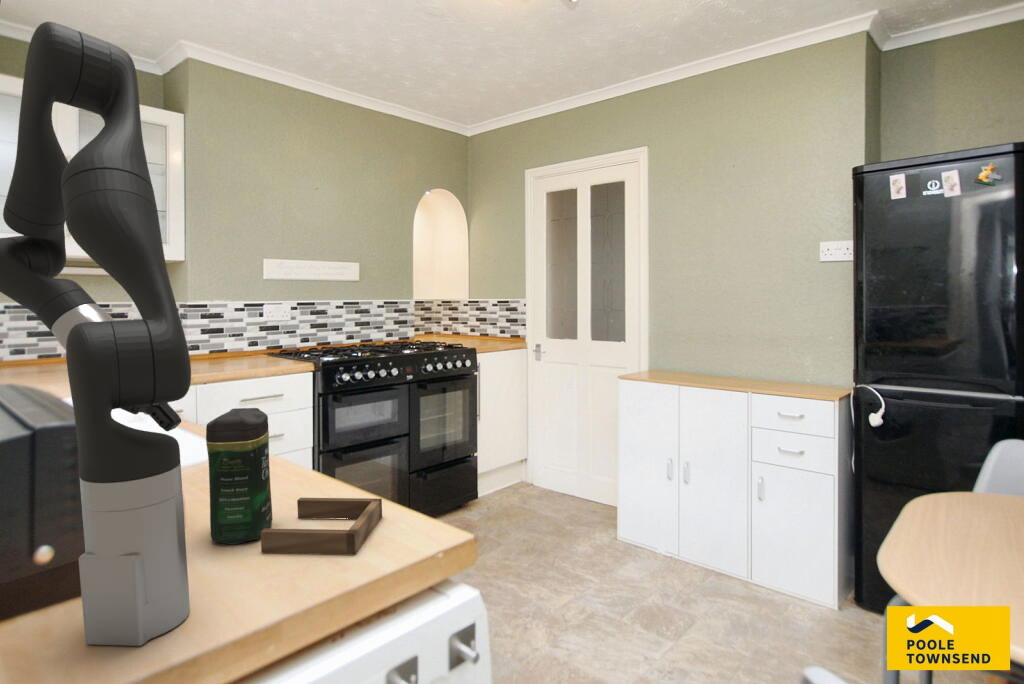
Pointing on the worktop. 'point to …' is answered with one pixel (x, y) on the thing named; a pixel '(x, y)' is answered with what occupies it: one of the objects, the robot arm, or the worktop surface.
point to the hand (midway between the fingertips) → (174, 426)
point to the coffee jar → (239, 475)
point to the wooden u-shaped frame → (326, 539)
